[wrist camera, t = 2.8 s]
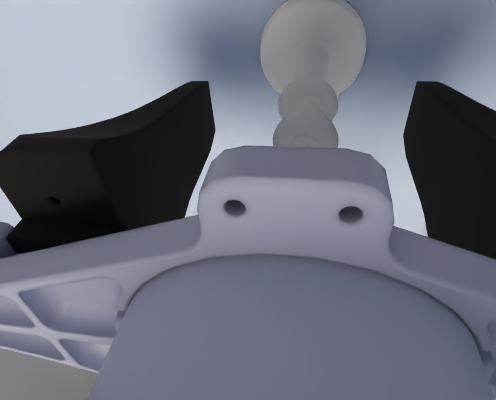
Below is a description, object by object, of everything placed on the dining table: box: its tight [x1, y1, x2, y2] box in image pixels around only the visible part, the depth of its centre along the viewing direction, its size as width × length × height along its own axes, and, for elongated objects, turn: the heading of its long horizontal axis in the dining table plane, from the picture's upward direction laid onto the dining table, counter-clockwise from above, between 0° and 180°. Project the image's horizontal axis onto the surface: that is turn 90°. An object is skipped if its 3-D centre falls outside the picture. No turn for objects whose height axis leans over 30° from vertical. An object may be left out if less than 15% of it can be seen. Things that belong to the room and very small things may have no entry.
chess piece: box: [260, 0, 366, 148], centre depth 13 cm, size 5×5×10 cm
